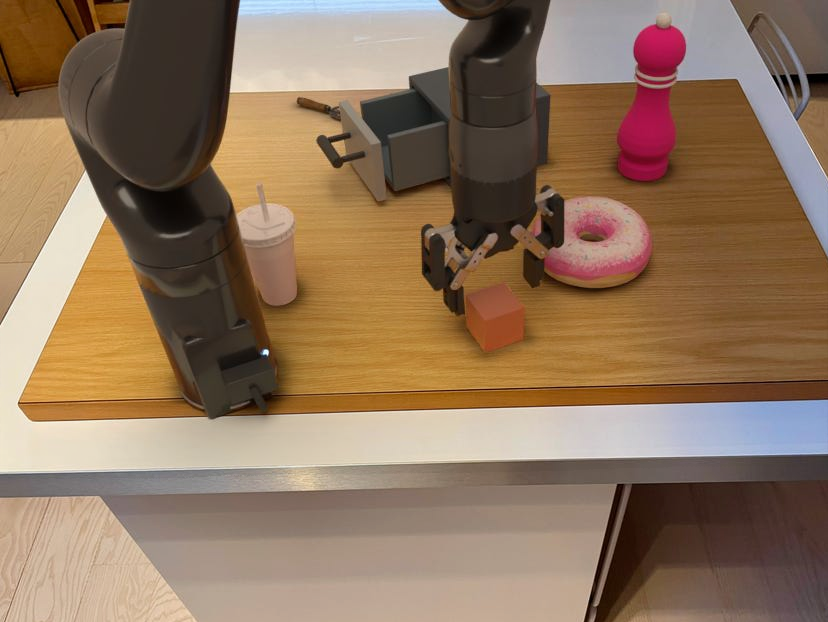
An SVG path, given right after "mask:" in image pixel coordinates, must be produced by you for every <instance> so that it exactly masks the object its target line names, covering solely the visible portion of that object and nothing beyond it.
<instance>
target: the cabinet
mask: <svg viewBox="0 0 828 622" xmlns="http://www.w3.org/2000/svg"><path fill="white" fill-rule="evenodd" d="M408 88H409V89H408V90H410V89H414V88H415V89H416V90H417V91H418V92H419V93H420V94H421V95H422V96H423V97H424V98H425V99H426V101H427V102H428V103H429V104H430V105H431V106H432V107H433V108H434V109H435V110H436V111H437V112H438V113H439V115H440V116H441V117H442V118H443V119H444V120H445V121H446V122H447V123H448V143H449V123H450V113H451V108H450V89H449V66H447V67H443V68H442V67H441V68H437V69H434V70H429V71H426V72H421V73H417V74H412V75H409V76H408ZM551 95H552V94H551V93H549V92H548V91H547V90H546V89H545V88H544V87H542V86H541V84H539V83H538V82H536V118H537V127H538V146H537V167H539V166H542V165H546V164H548V152H549V151H548V149H549V136H550V135H549V132H550V115H551ZM449 167H450V158H449ZM442 179H443V180H444V182H445V183H446V184H447V185H448V186H449V187H450V188H451V189H452V186H451V167H450V176H448V177H445V178H442Z"/></svg>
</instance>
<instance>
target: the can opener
mask: <svg viewBox="0 0 828 622" xmlns="http://www.w3.org/2000/svg"><path fill="white" fill-rule="evenodd" d="M296 104H297V105H300V106H302V107H305V108H308V109H312V110H318V111H321V112H324V113H329V116H330V117H332V118H334V119H338V120H341V116H340V109H339V105H337V106H334V107H331V106H330V105H328V104H325V103H321V102H318V101H315V100H313V99H310V98H307V97H302V96H298V97H297V98H296Z"/></svg>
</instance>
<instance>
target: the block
mask: <svg viewBox="0 0 828 622" xmlns="http://www.w3.org/2000/svg"><path fill="white" fill-rule="evenodd" d="M464 303H465V326H466V328H467V330H468V331H469V333H470V334H471V336H472V337H473V339H474V340H475V341H476V342H477V344H478V345H479V347H480V348H481V350H482V351H483V352H484V354H487V353H490V352H492V351H495V350H498V349H501V348H503V347H506V346H509V345H512V344H515V343H517V342H518V343H519V342H520V341H523V340H524V337H525V336H524V335H525V334H524V333H525V311H526V309H525V306H524V304H523V303H522V302H521V301H520V299H518V297H517V296H516V295H515V293H514V292H513V291H512V290H511V288H510V287H509V286H508V285H507V284H506V282H505V281H502V282H500V283H496V284H493V285H490V286H487V287H484V288H481V289H478V290H475V291H472V292H469V293H466V294H464Z"/></svg>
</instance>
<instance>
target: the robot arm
mask: <svg viewBox="0 0 828 622" xmlns="http://www.w3.org/2000/svg"><path fill="white" fill-rule="evenodd" d="M437 1H438V2H439V3H440V4H441V5H442V6H443V7H444V8H445V10H447V11H448V12H449V13H451V14H452V15H454V16H456V17H457V18H460V19H462V20H466V21H467V22H466V23H465V25H464V27H463V28H462V29H461V31H460V32H459V33H458V34H457V36H456V37H455V38H454V40H453V42H452V44H451V46H450V49H449V53H448V67H449V89H450V108H451V113H450V123H449V158H450V167H451V186H452V188H451V200H452V208H453V216H452V218H451V220H450V223H449V224H446V225H442V226H438V227H434V225H433V224H432V223H426V224H424V225H422V227H421V229H420V242H421V243H420V247H421V248H420V249H421V250H420V251H421V252H420V254H421V275H422V276H423V278H424V280H426V282H427V283H428V284H429V286H430V287H431V288H432V290H433V291H435V292H439V291H441V290H442V301H443V303H444V304H445V306H446V307H447V309H448V310H449V312H450V313H451V314H453V313H454V315H455V316H456V317H461V316H463V315H466V306H465V290H464V289H465V288H464V286H463V284H464V283H465V281H466V279H467V278H468V276H469V275H470V274H471V273H475V272H476V271H477V269H478V267H479V266H480V264H481V262H482V261H483V260H486V259H489V258H492V257H495V255H497V254H499V253H503V252H509V251H511V250H514V249H515V246H516V245H517V244H518V243H520V244H521V245H522V246H524V247H525V248H524V249H523V256H522V257H523V258H522V259H523V262H522V263H523V264H522V277H523V280H524V281H525V282H526V284H528V286H529V287H530V288H531V289H536V288H539V287H540V286H541V281H543V280H544V277H545V271H544V266H545V257H546V256H547V255H548V251H549V250H550V249H551V248H553V247H555V248H560V247H561V246H562V245H563V244H564V201H565V198H564V197H563V196H562V195H560V193H559V192H557V190H555V188H553V187H552V186H551V185H550V184H545V185H543V186H542V187H541V188H540V191H539V193H538V194H537V175H538V173H537V172H538V171H537V170H538V166H537V146H538V127H537V118H536V83H537V77H538V75H537V73H538V71H537V69H538V66H537V59H538V58H537V57H538V53H539V49H540V44H541V41H542V38H543V34H544V31H545V27H546V23H547V19H548V16H549V15H548V14H549V10H550V5H551V1H552V0H437ZM240 4H241V0H129V3H128V7H127V13H126V19H125V24H124V28H118V27H117V28H107V29H102V30H98V31H95V32H92V33H90V34H88V35H86V36H84V38H81V39H80V40H79V41H78V42H77V43H76V44H75V45H74V46H73V47H72V48H71V49H70V51H69V52H68V53H67V55H66V56H65V59H64V61H63V63H62V66H61V68H60V73H59V77H58V101H59V104H60V109H61V113H62V117H63V119H64V122H65V125H66V128H67V130H68V132H69V135H70V138H71V139H72V141H73V144H74V146H75V149H76V152H77V154H78V156H79V158H80V161H81V163H82V165H83V168H84V169H85V173H86V174H87V177H88V179H89V181H90V183H91V186H92V188H93V191H94V194H95V195H96V197H97V199H98V202H99V204H100V206H101V208H102V209H103V211H104V214H105V215H106V217H107V218H108V220H109V221H110V223H111V224H112V226H113V227H114V229H115V231H116V233H117V234H118V237H119V238H120V241H121V243H122V245H123V248H124V250H125V254H126V256H127V258H128V261H129V263H130V265H131V268H132V271H133V273H134V276H135V279H136V281H137V283H138V287H139V288H140V291H141V294H142V296H143V298H144V302H145V304H146V307H147V309H148V312H149V315H150V317H151V320H152V322H153V324H154V326H155V329H156V332H157V335H158V337H159V339H160V342H161V344H162V347H163V349H164V352H165V354H166V357H167V360H168V362H169V364H170V367H171V369H172V370H173V374H174V377H175V379H176V382H177V386H178V389H179V393H180V395H181V397H182V399H183V400H184V401H185V402H186V403H187V404H188V405H189V406H190V407H193V408H194V409H196V410H199V411H202V412H205V415H206V416H207V419H209V420H211V419H215V418H218V417H220V416H223V415H226V414H229V413H232V412H235V411H238V410H242V409H244V408H247V407H249V406H250V407H251V406H252V405H255V404H256V406H257V407H258V409H259V410H260V412H263V413H264V412H267V410H268V405H267V403H266V400H270V399H272V398H273V397H274V396H273V392H275V391H277V390H279V384H278V381H277V378H278V373H279V366H278V362H277V358H276V356H275V354H274V351H273V348H272V343H271V340H270V336H269V333H268V329H267V325H266V322H265V318H264V314H263V310H262V306H261V303H260V299H259V296H258V293H257V288H256V285H255V282H254V281H255V280H254V277H253V275H252V272H251V270H250V266H249V262H248V259H247V255H246V251H245V247H244V243H243V239H242V236H241V232H240V228H239V224H238V219H237V216H236V214H237V213H236V208H235V205H234V202H233V199H232V197H231V195H230V193H229V191H228V189H227V188H226V187H225V185H224V183H223V182H222V180H221V179H220V178H219V176H218V175H217V173H216V171H215V170H214V168H213V166H212V165H211V164H212V162H213V161H214V159H215V157H216V155H217V153H218V151H219V149H220V147H221V144H222V141H223V138H224V134H225V131H226V125H227V119H228V112H229V105H230V95H231V85H232V77H233V76H232V75H233V66H234V55H235V46H236V45H235V44H236V37H237V27H238V19H239V12H240ZM538 212H539V213H540V216H541V233H540V234H539V235H537V236H536V237H535V236H534V235H533V234H532V233H531V232H532V231H530V230H529V227H530V225H531V223H532V222H533V221H534V219H535V217H536V215H537V213H538ZM452 240H453V241H452ZM451 241H452V242H451ZM450 244H451V245H450ZM465 249H467V250H469V251H470V254H469V255H467V254H466V252H465ZM446 253H448V256H447V257H446Z"/></svg>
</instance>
